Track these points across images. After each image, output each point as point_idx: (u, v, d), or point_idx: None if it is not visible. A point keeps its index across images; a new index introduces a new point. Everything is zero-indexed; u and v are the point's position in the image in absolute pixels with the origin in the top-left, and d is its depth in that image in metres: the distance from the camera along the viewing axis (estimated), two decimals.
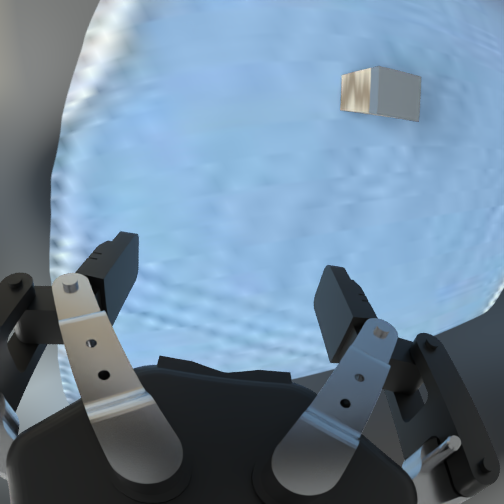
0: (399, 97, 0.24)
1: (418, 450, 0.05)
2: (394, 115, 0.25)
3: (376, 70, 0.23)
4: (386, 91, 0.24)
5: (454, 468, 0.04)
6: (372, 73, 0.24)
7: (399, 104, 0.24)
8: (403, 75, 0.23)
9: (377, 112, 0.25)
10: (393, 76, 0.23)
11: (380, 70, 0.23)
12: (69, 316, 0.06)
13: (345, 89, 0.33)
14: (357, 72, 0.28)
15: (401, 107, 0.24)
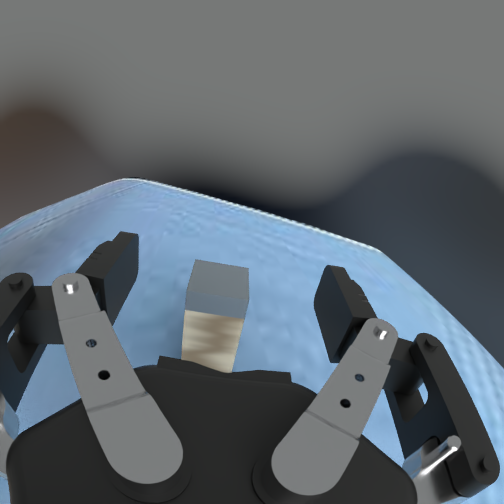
0: (224, 279, 0.26)
1: (418, 450, 0.05)
2: (246, 285, 0.26)
3: (191, 296, 0.24)
4: (218, 288, 0.24)
5: (454, 468, 0.04)
6: (193, 307, 0.24)
7: (232, 280, 0.26)
8: (196, 272, 0.26)
9: (247, 299, 0.24)
10: (198, 280, 0.25)
11: (192, 289, 0.23)
12: (69, 316, 0.06)
13: None
14: (184, 343, 0.26)
15: (235, 279, 0.26)
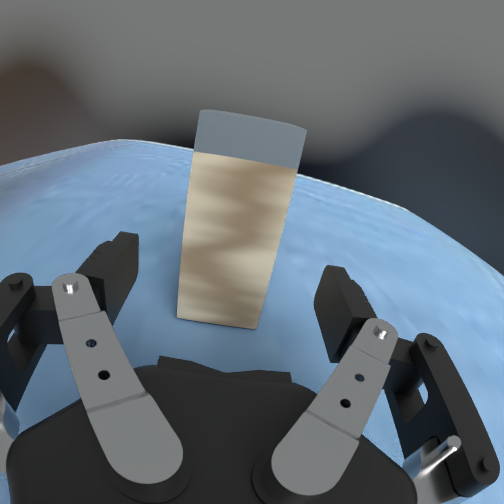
0: (259, 118, 0.15)
1: (418, 450, 0.05)
2: (296, 126, 0.15)
3: (207, 122, 0.13)
4: (254, 117, 0.14)
5: (454, 468, 0.04)
6: (209, 144, 0.13)
7: None
8: None
9: (303, 129, 0.13)
10: None
11: (210, 111, 0.13)
12: (69, 316, 0.06)
13: (214, 299, 0.17)
14: (187, 228, 0.15)
15: None
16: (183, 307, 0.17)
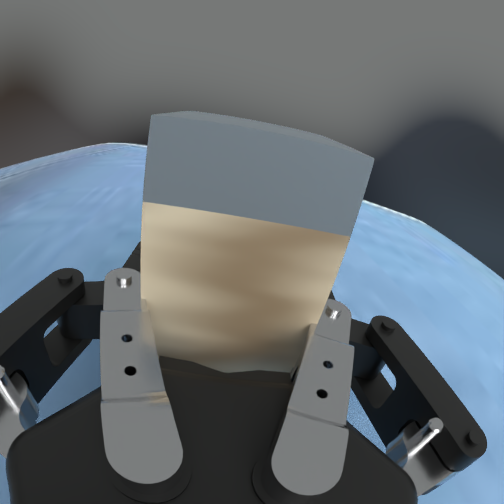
0: (273, 127, 0.08)
1: (399, 437, 0.06)
2: (342, 144, 0.08)
3: (166, 141, 0.06)
4: (265, 128, 0.07)
5: (441, 448, 0.05)
6: (172, 187, 0.06)
7: (297, 132, 0.08)
8: (191, 112, 0.08)
9: (367, 157, 0.06)
10: (196, 116, 0.07)
11: (172, 116, 0.06)
12: (115, 309, 0.07)
13: None
14: None
15: (305, 133, 0.08)
16: None
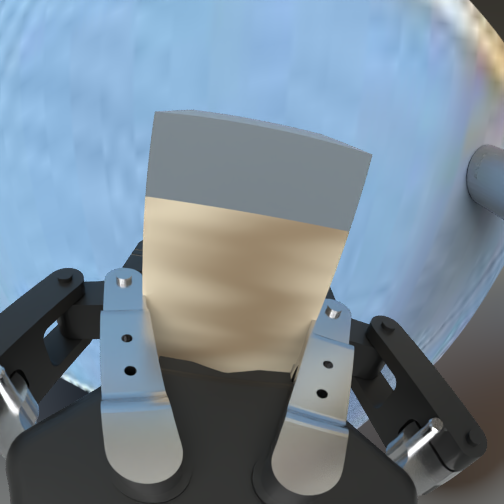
0: (273, 125, 0.08)
1: (399, 437, 0.06)
2: (341, 142, 0.08)
3: (169, 137, 0.06)
4: (265, 125, 0.07)
5: (441, 448, 0.05)
6: (174, 182, 0.07)
7: (297, 130, 0.08)
8: (193, 111, 0.08)
9: (365, 153, 0.06)
10: (198, 113, 0.07)
11: (175, 113, 0.06)
12: (114, 309, 0.07)
13: None
14: None
15: (304, 131, 0.09)
16: None
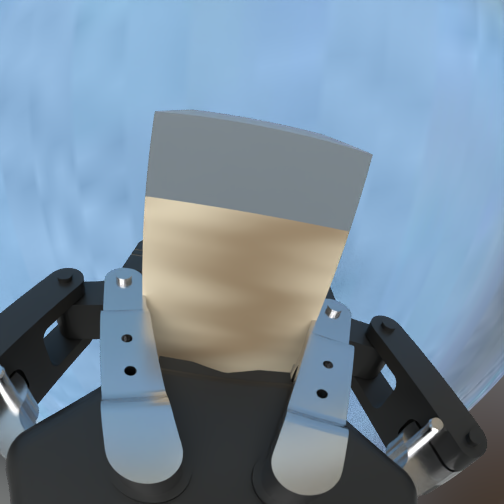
0: (273, 125, 0.08)
1: (399, 437, 0.06)
2: (341, 142, 0.08)
3: (169, 137, 0.06)
4: (266, 125, 0.07)
5: (441, 447, 0.05)
6: (174, 182, 0.07)
7: (297, 130, 0.08)
8: (193, 110, 0.08)
9: (365, 153, 0.06)
10: (198, 113, 0.07)
11: (175, 113, 0.06)
12: (114, 309, 0.07)
13: None
14: None
15: (304, 131, 0.09)
16: None
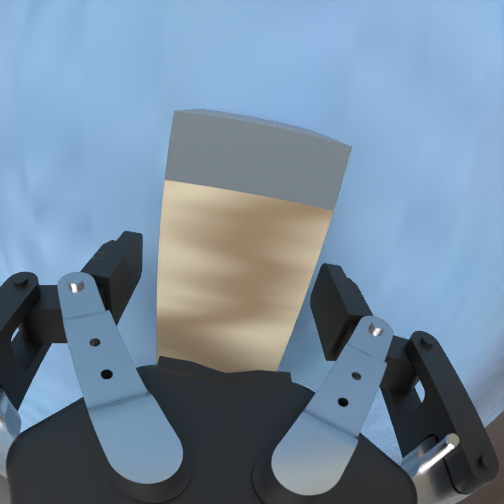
0: (271, 123, 0.10)
1: (416, 448, 0.06)
2: (328, 137, 0.10)
3: (186, 131, 0.08)
4: (264, 123, 0.08)
5: (453, 466, 0.04)
6: (189, 168, 0.08)
7: (291, 127, 0.10)
8: None
9: (346, 145, 0.08)
10: (208, 113, 0.09)
11: (190, 112, 0.07)
12: (74, 315, 0.07)
13: None
14: (161, 294, 0.10)
15: (297, 128, 0.10)
16: None
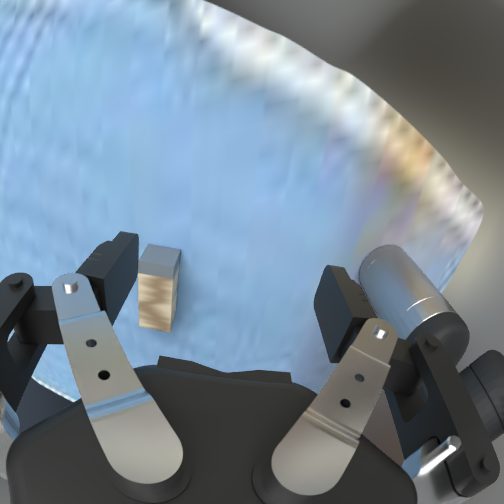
0: (162, 255, 0.41)
1: (417, 450, 0.06)
2: (175, 259, 0.41)
3: (141, 264, 0.39)
4: (157, 260, 0.40)
5: (454, 468, 0.04)
6: (142, 271, 0.39)
7: (167, 256, 0.41)
8: (146, 251, 0.41)
9: (172, 266, 0.39)
10: (146, 255, 0.40)
11: (141, 260, 0.39)
12: (69, 316, 0.06)
13: (152, 320, 0.43)
14: (139, 296, 0.41)
15: (169, 255, 0.41)
16: (141, 322, 0.43)
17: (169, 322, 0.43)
